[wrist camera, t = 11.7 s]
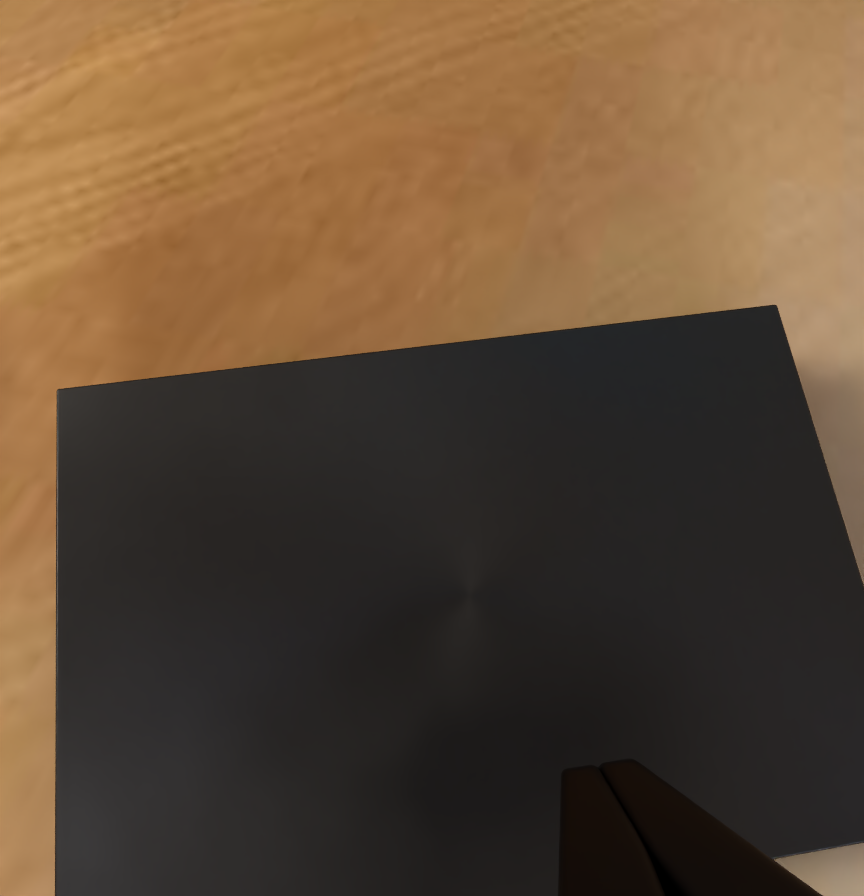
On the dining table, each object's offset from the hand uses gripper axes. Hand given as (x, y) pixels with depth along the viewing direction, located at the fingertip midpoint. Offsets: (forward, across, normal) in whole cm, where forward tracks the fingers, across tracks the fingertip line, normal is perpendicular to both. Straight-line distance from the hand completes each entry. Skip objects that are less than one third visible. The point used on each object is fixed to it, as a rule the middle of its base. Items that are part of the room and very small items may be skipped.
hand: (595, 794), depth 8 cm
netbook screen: (+11, 0, +3) cm, 12 cm away
